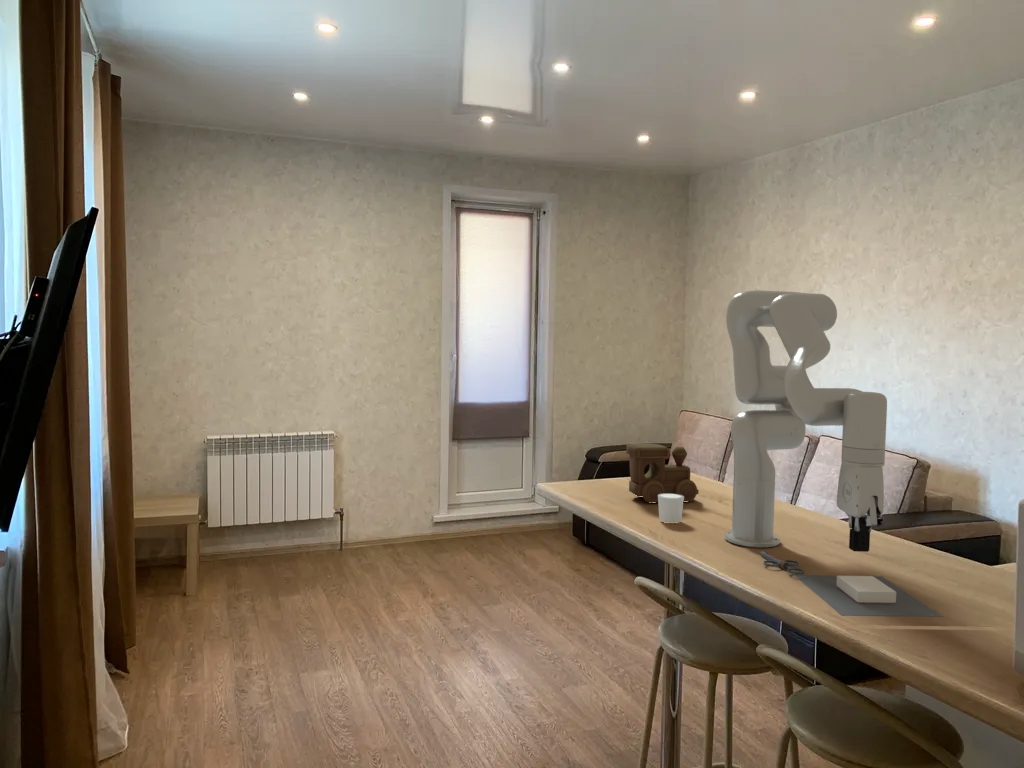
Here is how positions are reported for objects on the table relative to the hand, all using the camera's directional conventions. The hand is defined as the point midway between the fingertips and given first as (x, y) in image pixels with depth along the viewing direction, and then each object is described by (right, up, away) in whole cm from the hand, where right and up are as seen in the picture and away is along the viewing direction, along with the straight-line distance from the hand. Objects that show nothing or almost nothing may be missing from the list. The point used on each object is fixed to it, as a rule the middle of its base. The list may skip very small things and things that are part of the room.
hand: (859, 550), depth 144 cm
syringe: (-10, -7, +16) cm, 20 cm away
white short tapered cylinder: (-25, -5, +54) cm, 60 cm away
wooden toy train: (-22, -3, +80) cm, 83 cm away
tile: (0, -6, +2) cm, 7 cm away
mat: (0, -8, -2) cm, 9 cm away
